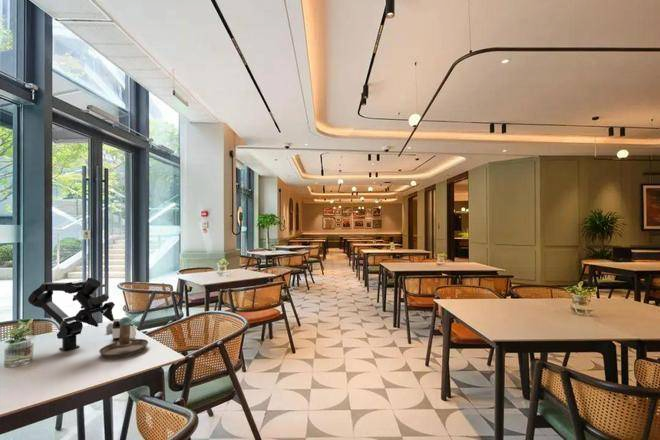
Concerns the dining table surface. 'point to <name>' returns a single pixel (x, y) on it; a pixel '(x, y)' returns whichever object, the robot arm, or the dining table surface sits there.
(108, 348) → the plant saucer
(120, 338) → the bead column
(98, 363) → the dining table surface
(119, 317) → the spread jar
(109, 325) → the lighter
